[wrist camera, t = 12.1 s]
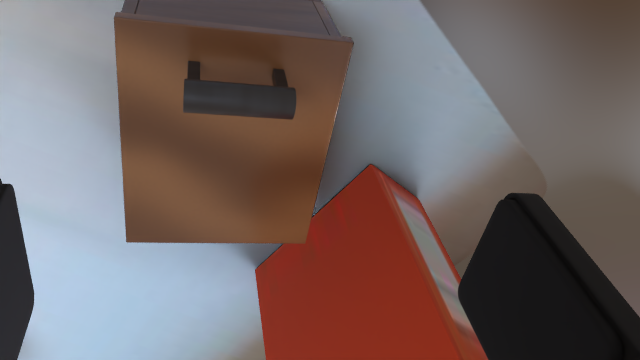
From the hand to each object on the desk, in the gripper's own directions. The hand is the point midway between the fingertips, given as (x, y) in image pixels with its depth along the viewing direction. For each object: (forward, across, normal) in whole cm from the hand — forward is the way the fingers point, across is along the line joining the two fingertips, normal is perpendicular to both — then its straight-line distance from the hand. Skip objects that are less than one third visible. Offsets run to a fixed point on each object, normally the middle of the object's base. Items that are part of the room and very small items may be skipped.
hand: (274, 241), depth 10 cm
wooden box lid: (+23, -1, +13) cm, 26 cm away
